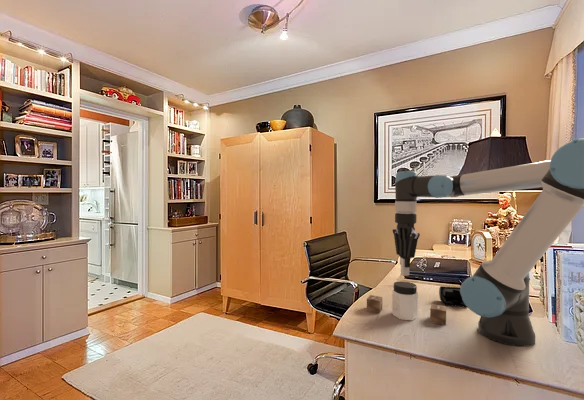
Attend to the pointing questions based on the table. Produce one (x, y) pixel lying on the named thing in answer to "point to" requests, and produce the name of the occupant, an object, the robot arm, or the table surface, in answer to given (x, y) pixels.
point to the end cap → (451, 296)
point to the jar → (405, 300)
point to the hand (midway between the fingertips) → (404, 275)
